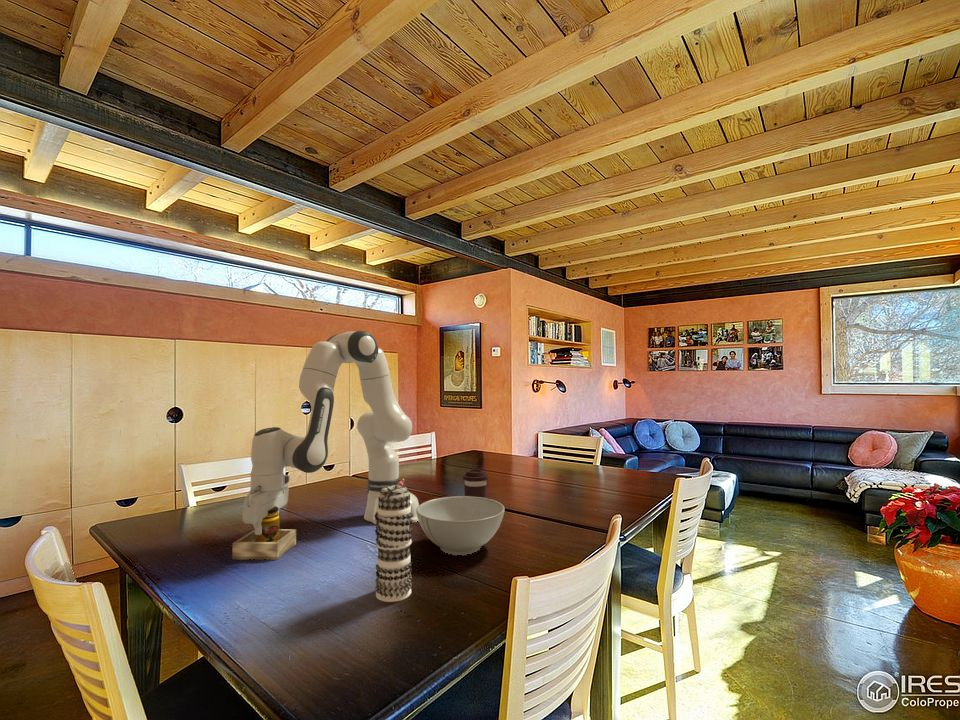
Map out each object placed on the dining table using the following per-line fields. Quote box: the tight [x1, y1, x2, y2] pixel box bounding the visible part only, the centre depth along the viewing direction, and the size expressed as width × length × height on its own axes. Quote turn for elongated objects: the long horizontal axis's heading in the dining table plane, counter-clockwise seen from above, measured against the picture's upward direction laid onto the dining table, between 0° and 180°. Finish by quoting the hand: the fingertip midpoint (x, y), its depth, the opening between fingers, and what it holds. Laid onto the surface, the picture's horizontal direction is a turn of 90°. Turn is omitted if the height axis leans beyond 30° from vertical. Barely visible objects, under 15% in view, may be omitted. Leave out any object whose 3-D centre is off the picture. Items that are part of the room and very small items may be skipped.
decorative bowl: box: [416, 495, 506, 556], centre depth 134 cm, size 27×27×12 cm
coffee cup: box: [462, 468, 489, 498], centre depth 174 cm, size 10×10×15 cm
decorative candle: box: [374, 485, 414, 603], centre depth 106 cm, size 9×9×25 cm
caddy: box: [231, 528, 297, 561], centre depth 131 cm, size 13×12×4 cm
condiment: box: [257, 506, 280, 542], centre depth 132 cm, size 7×8×12 cm
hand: (266, 529), depth 132 cm, fingers open, 7 cm apart
